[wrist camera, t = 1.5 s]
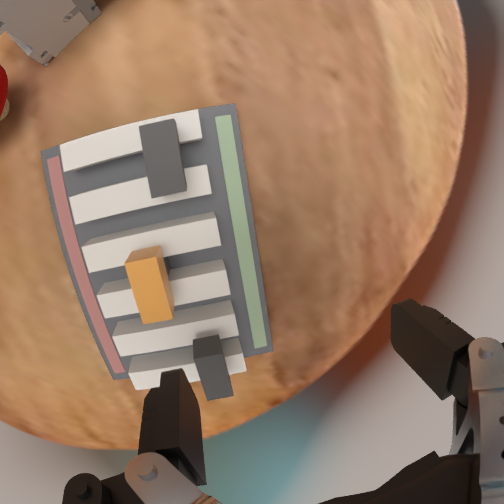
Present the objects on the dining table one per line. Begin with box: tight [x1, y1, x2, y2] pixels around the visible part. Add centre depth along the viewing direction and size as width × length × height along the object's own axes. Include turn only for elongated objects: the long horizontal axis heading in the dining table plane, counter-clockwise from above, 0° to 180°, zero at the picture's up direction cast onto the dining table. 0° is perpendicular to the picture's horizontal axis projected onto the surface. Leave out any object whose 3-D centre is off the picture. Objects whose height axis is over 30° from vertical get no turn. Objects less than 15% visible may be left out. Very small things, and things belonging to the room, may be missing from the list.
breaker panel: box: [41, 104, 273, 401], centre depth 26 cm, size 19×26×10 cm
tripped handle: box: [124, 245, 175, 324], centre depth 25 cm, size 2×5×7 cm, turn 9°
